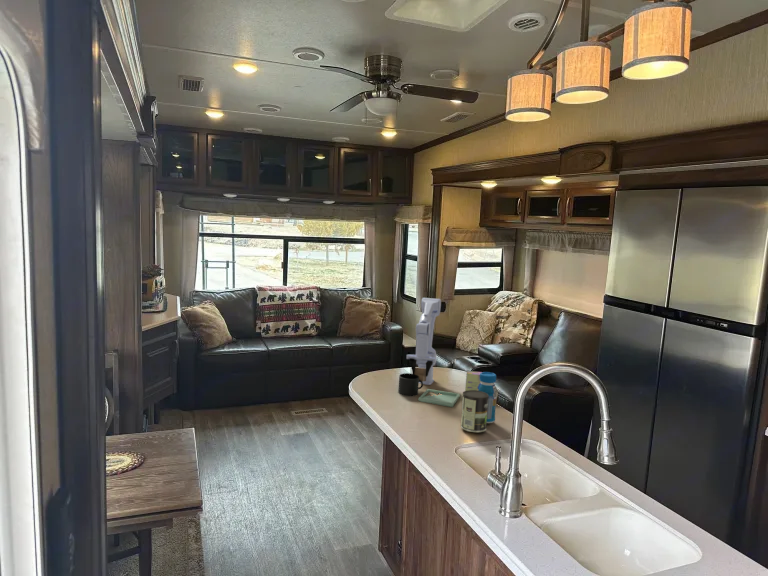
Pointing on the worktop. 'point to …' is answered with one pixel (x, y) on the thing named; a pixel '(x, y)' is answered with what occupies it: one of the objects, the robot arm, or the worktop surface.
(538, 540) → the worktop surface
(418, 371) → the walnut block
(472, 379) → the box
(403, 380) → the mug
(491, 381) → the beverage bottle
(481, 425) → the coffee can
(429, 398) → the tray
